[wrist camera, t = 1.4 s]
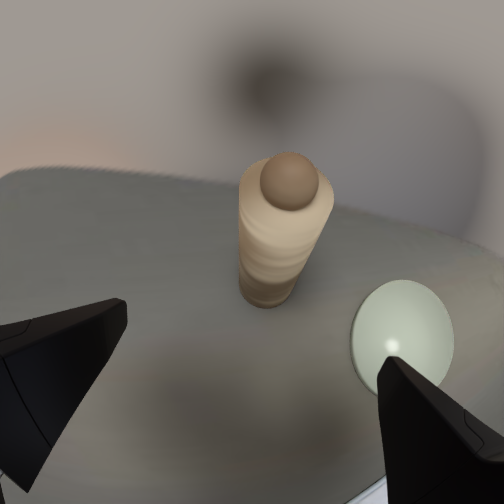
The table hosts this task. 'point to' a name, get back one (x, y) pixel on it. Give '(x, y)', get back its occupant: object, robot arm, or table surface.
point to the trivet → (401, 332)
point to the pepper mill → (279, 224)
